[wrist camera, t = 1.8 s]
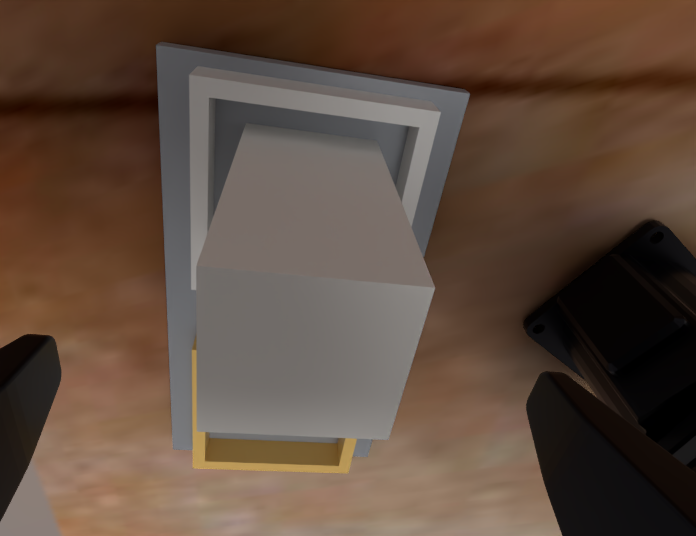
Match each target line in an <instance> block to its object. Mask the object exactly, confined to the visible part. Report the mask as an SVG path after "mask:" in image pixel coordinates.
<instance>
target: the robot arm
mask: <svg viewBox="0 0 696 536" xmlns="http://www.w3.org/2000/svg"><path fill="white" fill-rule="evenodd" d="M656 232H657V234H656V235H655V236H654V237H652V238H651V236H652V235H653V234H654V233H656ZM538 324H540V325H539V326H537V327H535V326H536V325H538ZM534 327H535V328H534ZM523 328H524V329H525V331H526V333H527V334H528V336H529V337H531V338H532V339H533V340H534V341H536V342H537V343H538V344H539V345H541V346H542V347H543V348H545V349H546V350H547V351H548V352H550V353H551V354H552V355H554V356H555V357H556V358H557V359H559V360H560V361H561V362H563V363H564V364H565V365H566V366H568V367H569V368H570V369H572V370H573V371H574V372H575V373H577V374H578V375H579V376H581V377H582V378H583V379H584V380H586V381H587V383H588V384H589V386H590V387H591V389H592V390H593V392H594V393H595V395H596V396H597V398H596V397H595V396H594V395H592V394H591V393H590V392H589V391H587V390H586V389H585V388H583V387H582V386H581V385H579V384H578V383H577V382H575V381H574V380H573V379H571V378H570V377H569V376H568V375H566V374H564V373H561V372H548V371H546V372H543V373H541V374H540V376H539V377H538V379H537V381H536V383H535V385H534V387H533V389H532V391H531V393H530V395H529V397H528V400H527V404H526V411H527V416H528V420H529V424H530V428H531V432H532V436H533V440H534V444H535V449H536V453H537V457H538V461H539V465H540V469H541V473H542V477H543V480H544V484H545V487H546V490H547V493H548V496H549V499H550V502H551V505H552V508H553V510H554V513H555V516H556V519H557V522H558V524H559V527H560V530H561V533H562V536H696V259H695V258H694V257H693V255H692V254H691V253H690V252H689V251H688V250H687V248H686V247H685V246H684V245H683V244H682V243H681V242H680V240H679V239H678V238H677V237H676V236H675V235H674V234H673V232H672V231H671V230H670V229H669V228H668V227H666V226H665V225H664V224H662V223H661V222H659V221H652V222H649V223H647V224H645V225H644V226H642V227H641V228H640V229H639V230H637V231H636V232H635V233H633V234H632V235H631V236H630V237H628V238H627V239H626V240H625V241H623V242H622V243H621V244H620V245H618V246H617V247H616V248H614V249H613V250H612V251H611V252H609V253H608V254H607V255H606V256H604V257H603V258H602V259H601V260H599V261H598V262H597V263H596V264H594V265H593V266H592V267H590V268H589V269H588V270H587V271H585V272H584V273H583V274H582V275H580V276H579V277H578V278H577V279H575V280H574V281H573V282H572V283H570V284H569V285H568V286H566V287H565V288H564V289H563V290H561V291H560V292H559V293H558V294H556V295H555V296H554V297H553V298H551V299H550V300H549V301H547V302H546V303H545V304H544V305H542V306H541V307H540V308H539V309H537V310H536V311H535V312H534V313H532V314H531V315H530V316H529V317H527V318H526V320H525V321H524V323H523ZM60 381H61V366H60V361H59V356H58V351H57V346H56V342H55V339H54V338H53V337H52V336H49V335H37V334H26V335H24V336H21V337H20V338H18V339H16V340H14V341H13V342H11V343H9V344H7V345H6V346H4V347H2V348H0V521H1V519H2V518H3V516H4V514H5V512H6V510H7V508H8V506H9V504H10V502H11V500H12V498H13V496H14V494H15V492H16V490H17V488H18V486H19V484H20V482H21V480H22V478H23V476H24V474H25V472H26V470H27V468H28V466H29V463H30V461H31V458H32V456H33V454H34V451H35V448H36V446H37V443H38V440H39V438H40V435H41V432H42V430H43V427H44V424H45V422H46V419H47V417H48V414H49V411H50V409H51V406H52V403H53V401H54V398H55V395H56V393H57V390H58V387H59V385H60Z"/></svg>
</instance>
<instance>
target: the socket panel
mask: <svg viewBox="0 0 696 536" xmlns="http://www.w3.org/2000/svg"><path fill="white" fill-rule="evenodd" d="M156 59H157V82H158V106H159V130H160V154H161V177H162V201H163V225H164V249H165V273H166V296H167V320H168V344H169V368H170V392H171V415H172V439H173V449H176V450H193V468H199V469H229V470H260V471H290V472H321V473H348V472H349V468H350V464H351V460H352V456H360V457H368V453H369V450H370V446H371V443H372V439H355V438H332V437H309V436H286V435H263V434H240V433H217V432H197V350H196V265H197V262H198V259H199V257H200V254H201V251H202V248H203V245H204V242H205V239H206V236H207V234H208V231H209V228H210V225H211V222H212V219H213V216H214V214H215V211H216V208H217V205H218V202H219V199H220V196H221V193H222V191H223V188H224V185H225V182H226V179H227V176H228V173H229V171H230V168H231V165H232V162H233V159H234V156H235V153H236V150H237V148H238V145H239V142H240V139H241V136H242V133H243V130H244V128H245V125H246V123H250V124H257V125H265V126H272V127H279V128H287V129H294V130H301V131H309V132H316V133H323V134H331V135H338V136H345V137H353V138H360V139H367V140H374V141H377V142H378V145H379V147H380V150H381V152H382V155H383V157H384V160H385V162H386V165H387V167H388V170H389V172H390V175H391V177H392V180H393V182H394V185H395V187H396V190H397V193H398V195H399V198H400V200H401V203H402V205H403V208H404V210H405V213H406V215H407V218H408V220H409V223H410V225H411V228H412V230H413V233H414V236H415V238H416V241H417V243H418V246H419V248H420V251H421V253H422V256H423V258H424V255H425V252H426V248H427V244H428V241H429V237H430V234H431V230H432V227H433V223H434V220H435V216H436V213H437V209H438V206H439V202H440V198H441V195H442V191H443V188H444V184H445V181H446V177H447V174H448V170H449V167H450V163H451V159H452V156H453V152H454V149H455V145H456V142H457V138H458V135H459V131H460V128H461V124H462V121H463V117H464V113H465V110H466V106H467V103H468V99H469V96H470V93H468V92H467V91H466V90H465V89H459V88H453V87H447V86H440V85H434V84H428V83H421V82H415V81H409V80H402V79H396V78H389V77H383V76H377V75H370V74H364V73H358V72H351V71H345V70H339V69H332V68H326V67H319V66H313V65H307V64H300V63H294V62H288V61H281V60H275V59H269V58H262V57H256V56H249V55H243V54H237V53H230V52H224V51H218V50H211V49H205V48H198V47H192V46H186V45H179V44H173V43H167V42H160V43H158V44H157V45H156Z"/></svg>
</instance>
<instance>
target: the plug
mask: <svg viewBox="0 0 696 536" xmlns="http://www.w3.org/2000/svg"><path fill="white" fill-rule="evenodd" d="M434 290H435V286H434V284H433V281H432V278H431V276H430V273H429V271H428V268H427V266H426V263H425V261H424V258H423V256H422V253H421V251H420V248H419V246H418V243H417V241H416V238H415V236H414V233H413V230H412V228H411V225H410V223H409V220H408V218H407V215H406V213H405V210H404V208H403V205H402V203H401V200H400V198H399V195H398V193H397V190H396V187H395V185H394V182H393V180H392V177H391V175H390V172H389V170H388V167H387V165H386V162H385V160H384V157H383V155H382V152H381V150H380V147H379V145H378V142H377V141H374V140H367V139H360V138H353V137H345V136H338V135H331V134H323V133H316V132H309V131H301V130H294V129H287V128H279V127H272V126H265V125H257V124H250V123H246V125H245V128H244V130H243V133H242V136H241V139H240V142H239V145H238V148H237V150H236V153H235V156H234V159H233V162H232V165H231V168H230V171H229V173H228V176H227V179H226V182H225V185H224V188H223V191H222V193H221V196H220V199H219V202H218V205H217V208H216V211H215V214H214V216H213V219H212V222H211V225H210V228H209V231H208V234H207V236H206V239H205V242H204V245H203V248H202V251H201V254H200V257H199V259H198V262H197V265H196V350H197V432H217V433H240V434H263V435H286V436H309V437H332V438H355V439H378V440H388V439H389V436H390V433H391V430H392V426H393V423H394V420H395V417H396V413H397V410H398V407H399V404H400V401H401V397H402V394H403V391H404V388H405V384H406V381H407V378H408V375H409V371H410V368H411V365H412V362H413V358H414V355H415V352H416V349H417V345H418V342H419V339H420V336H421V332H422V329H423V326H424V323H425V319H426V316H427V313H428V310H429V306H430V303H431V300H432V297H433V294H434Z"/></svg>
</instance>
